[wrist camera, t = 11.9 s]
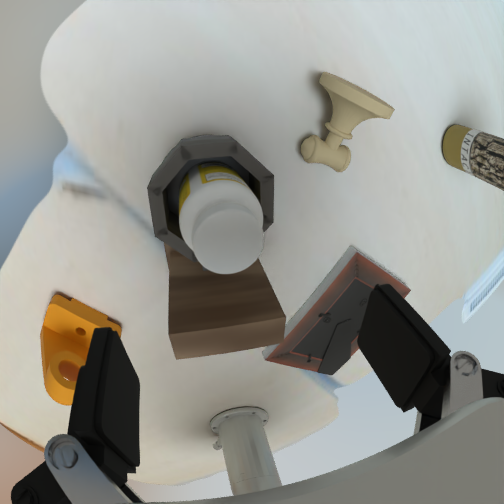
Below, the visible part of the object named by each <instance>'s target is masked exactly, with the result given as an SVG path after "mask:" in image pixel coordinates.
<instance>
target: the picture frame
mask: <svg viewBox="0 0 504 504" xmlns="http://www.w3.org/2000/svg"><path fill="white" fill-rule="evenodd" d="M387 283H388V284H390V285H391V286H392V287H393V288H394V289H395V290H396V291H397V292H398V293H399V294H400V295H401V296H402V297H403V298H405V297H406V296H407V295H408V293H409V292H410V291H411V290H410V289H409V288H408V287H407V286H406V285H405V284H404V283H403V282H401V281H400V280H398V279H397V278H396V277H394V276H393V275H392V274H390V273H389V272H387V271H386V270H385V269H383V268H382V267H380V266H379V265H378V264H376V263H375V262H373V261H372V260H371V259H369V258H368V257H366V256H365V255H363V254H362V253H360V252H359V251H358V250H356V249H355V248H353V247H352V246H350V247H349V248H348V249H347V251H346V252H345V253H344V255H343V256H342V257H341V259H340V260H339V261H338V262H337V264H336V265H335V266H334V268H333V269H332V270H331V271H330V273H329V274H328V275H327V276H326V278H325V279H324V280H323V281H322V283H321V284H320V285H319V286H318V288H317V289H316V290H315V291H314V293H313V294H312V295H311V296H310V297H309V299H308V300H307V301H306V302H305V303H304V305H303V306H302V307H301V308H300V309H299V311H298V312H297V313H296V314H295V315H294V316H293V318H292V319H291V320H290V321H289V322H288V323H287V325H286V326H285V334H284V343H280V344H275V345H270V346H267V347H266V348H265V350H264V351H263V352H262V353H263V356H264V359H265V360H266V361H270V362H274V363H279V364H283V365H287V366H292V367H296V368H301V369H306V370H311V371H316V372H318V373H323V374H328V375H333V374H334V373H335V372H336V371H338V370H339V369H340V368H341V367H342V366H343V365H344V364H345V363H346V362H347V361H348V360H349V359H350V358H351V356H352V355H353V354H354V353H355V352H356V351H357V350H358V349H359V347H358V344H357V338H358V335H359V332H360V328H361V325H362V322H363V318H364V315H365V311H366V307H367V304H368V300H369V296H370V293H371V291H373V289H374V287H375V286H378V285H383V284H387Z"/></svg>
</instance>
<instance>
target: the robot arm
mask: <svg viewBox="0 0 504 504" xmlns="http://www.w3.org/2000/svg"><path fill="white" fill-rule="evenodd" d="M357 344H358V347H359V348H360V350H361V352H362V353H363V355H364V356H365V358H366V359H367V361H368V362H369V364H370V365H371V367H372V368H373V370H374V372H375V373H376V375H377V376H378V378H379V379H380V381H381V383H382V384H383V386H384V387H385V389H386V390H387V392H388V393H389V395H390V397H391V398H392V400H393V401H394V403H395V405H396V406H397V407H399V408H401V409H402V411H403V412H406V411H408V410H410V409H412V408H414V407H416V408H417V410H418V412H417V418H416V424H415V430H414V435H413V436H411V437H409V438H408V439H406V440H404V441H402V442H400V443H398V444H396V445H394V446H392V447H390V448H388V449H385V450H383V451H381V452H379V453H377V454H375V455H372V456H370V457H368V458H365V459H363V460H360V461H358V462H355V463H353V464H350V465H348V466H345V467H343V468H340V469H337V470H334V471H332V472H329V473H326V474H323V475H320V476H316V477H314V478H310V479H307V480H303V481H300V482H296V483H292V484H288V485H284V486H282V484H281V481H280V478H279V475H278V472H277V468H276V465H275V462H274V459H273V456H272V452H271V449H270V446H269V443H268V440H267V436H266V433H265V430H264V425H265V424H266V423H267V422H268V415H267V413H266V412H265V411H264V410H262V409H259V408H254V407H243V408H236V409H232V410H228V411H225V412H223V413H221V414H219V415H217V416H216V417H214V418H213V419H212V421H211V423H210V425H211V430H212V431H213V432H214V433H216V434H219V439H218V441H217V442H215V443H214V444H213V448H214V449H216V450H219V449H221V448H222V449H223V453H224V458H225V463H226V467H227V472H228V476H229V481H230V485H231V490H232V493H233V495H234V496H229V497H221V498H213V499H203V500H193V501H179V502H151V503H146V502H145V501H144V500H143V499H142V498H141V497H140V496H139V495H137V493H136V492H135V491H134V490H133V489H132V488H131V487H130V486H129V485H128V484H127V483H126V482H127V473H136V467H138V466H139V465H140V448H139V400H140V382H139V378H138V376H137V374H136V372H135V370H134V368H133V366H132V363H131V361H130V359H129V357H128V355H127V353H126V350H125V348H124V346H123V344H122V341H121V339H120V337H119V334H118V332H117V331H113V330H112V328H111V327H102V328H95V329H94V331H93V335H92V339H91V342H90V346H89V351H88V355H87V359H86V363H85V365H83V366H81V367H80V369H79V372H78V377H77V381H76V386H75V391H74V396H73V402H72V407H71V413H70V419H69V426H68V433H67V434H60V435H56V436H54V437H52V438H51V439H50V440H49V441H48V443H47V445H46V446H45V451H44V456H45V461H44V462H43V463H42V464H41V465H39V466H38V467H37V468H36V469H34V470H33V471H32V472H31V473H29V474H28V475H27V476H25V477H24V478H23V479H22V480H20V481H19V482H18V483H16V485H15V486H14V487H13V489H12V491H11V500H12V504H504V374H501V373H497V372H493V371H489V370H485V369H481V366H480V363H479V361H478V359H477V358H476V357H475V356H474V355H472V354H471V353H469V352H466V351H458V352H456V353H454V354H453V355H452V357H451V356H450V355H449V354H450V352H451V350H450V349H449V348H448V347H447V346H446V344H445V343H444V342H443V341H442V340H441V339H440V338H439V337H438V335H437V334H436V333H435V332H434V331H433V330H432V329H431V327H430V326H429V325H428V324H427V323H426V322H425V321H424V320H423V318H422V317H421V316H420V315H419V314H418V313H417V312H416V311H415V310H414V309H413V308H412V307H411V305H410V304H409V303H408V302H407V301H406V300H405V299H404V298H403V297H402V296H401V295H400V294H399V293H398V292H397V291H396V290H395V289H394V288H393V287H392V286H391V285H390V284H388V283H387V284H383V285H378V286H375V287H374V289H373V291H371V293H370V296H369V300H368V304H367V307H366V311H365V315H364V318H363V322H362V325H361V328H360V332H359V335H358V338H357Z"/></svg>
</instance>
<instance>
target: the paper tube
mask: <svg viewBox="0 0 504 504" xmlns="http://www.w3.org/2000/svg"><path fill="white" fill-rule="evenodd" d="M443 154H444V157H445V159H446V161H447V162H448V164H449V165H451V166H453V167H455V168H457V169H460V170H462V171H464V172H467V173H468V174H471V175H473V176H475V177H477V178H479V179H481V180H483V181H485V182H487V183H490V184H492V185H494V186H495V187H497V188H499V189H501V190H503V191H504V139H502V138H500V137H497V136H494V135H491V134H488V133H485V132H482V131H478V130H475V129H471V128H468V127H464V126H461V125H453V126H451V127H450V128H449V129H448V130H447V132H446V133H445V136H444V139H443Z"/></svg>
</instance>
